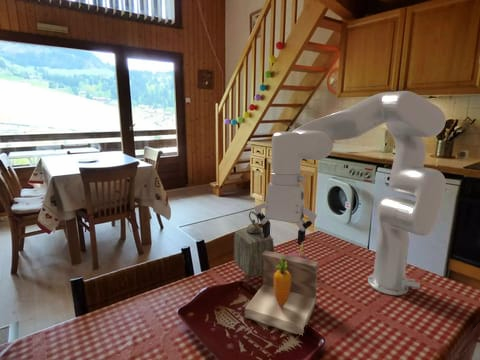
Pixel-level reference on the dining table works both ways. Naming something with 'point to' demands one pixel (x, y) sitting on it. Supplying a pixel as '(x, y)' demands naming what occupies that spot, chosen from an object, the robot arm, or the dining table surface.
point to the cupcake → (298, 254)
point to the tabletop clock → (251, 248)
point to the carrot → (282, 283)
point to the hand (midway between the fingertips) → (283, 239)
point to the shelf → (298, 300)
